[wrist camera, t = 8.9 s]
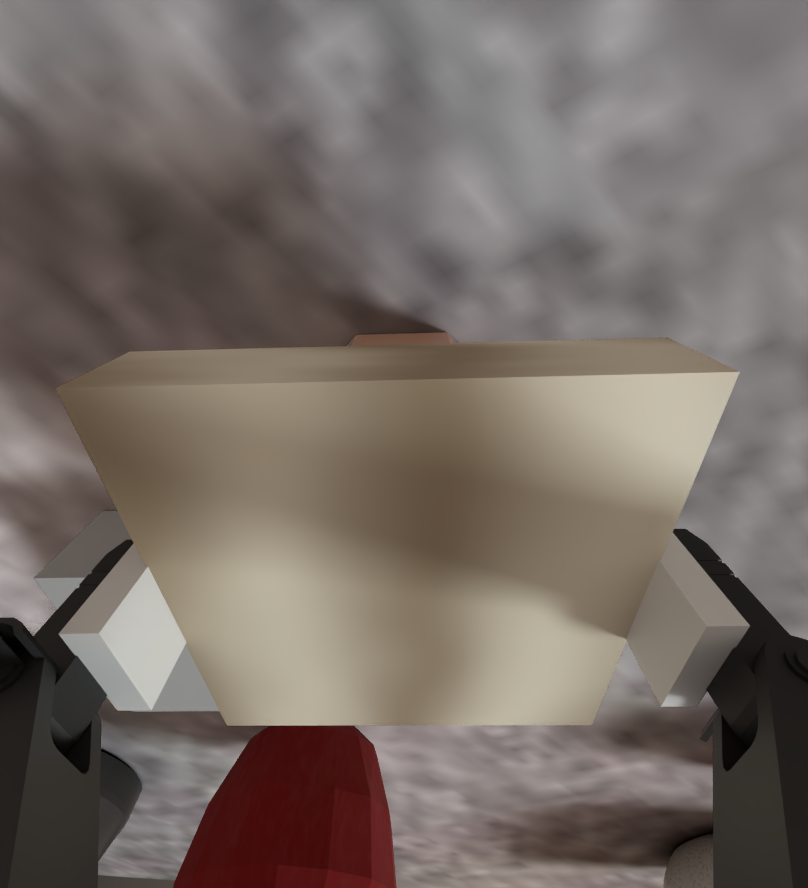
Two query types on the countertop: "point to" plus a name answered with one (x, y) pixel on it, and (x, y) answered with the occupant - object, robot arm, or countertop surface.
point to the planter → (691, 864)
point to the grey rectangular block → (79, 561)
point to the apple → (296, 816)
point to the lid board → (403, 516)
